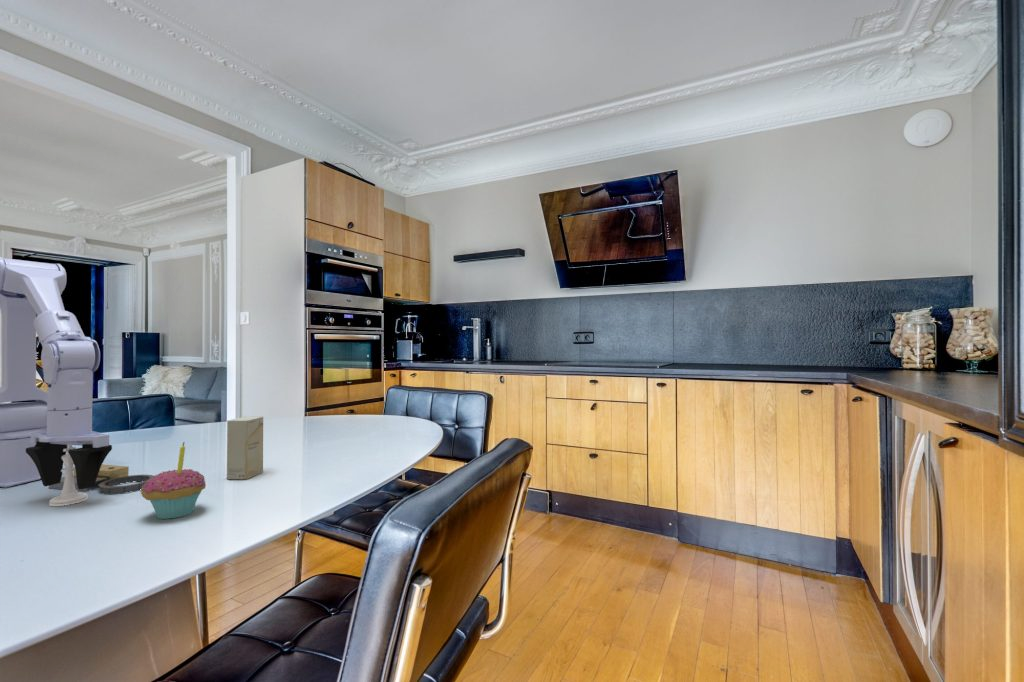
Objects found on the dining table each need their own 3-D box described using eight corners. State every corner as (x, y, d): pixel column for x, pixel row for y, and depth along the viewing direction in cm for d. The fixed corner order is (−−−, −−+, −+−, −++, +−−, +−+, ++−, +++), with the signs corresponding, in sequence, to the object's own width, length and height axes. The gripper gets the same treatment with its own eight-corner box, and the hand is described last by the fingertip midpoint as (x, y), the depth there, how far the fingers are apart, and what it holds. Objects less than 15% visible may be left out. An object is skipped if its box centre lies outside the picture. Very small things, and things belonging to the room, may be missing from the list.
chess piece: (95, 497, 82) (96, 441, 82) (66, 507, 77) (67, 448, 77) (71, 496, 82) (72, 440, 82) (40, 505, 77) (41, 447, 77)
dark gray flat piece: (46, 488, 86) (46, 480, 86) (93, 476, 94) (94, 468, 94) (123, 495, 83) (123, 486, 83) (165, 482, 91) (165, 474, 91)
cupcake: (217, 508, 77) (218, 437, 77) (165, 527, 69) (166, 448, 69) (181, 502, 80) (182, 434, 80) (127, 519, 72) (128, 443, 72)
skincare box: (246, 480, 93) (247, 420, 93) (225, 479, 93) (226, 420, 93) (264, 471, 99) (264, 415, 99) (243, 471, 99) (244, 415, 99)
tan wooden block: (73, 480, 90) (73, 467, 90) (92, 475, 94) (93, 463, 94) (110, 483, 89) (110, 470, 89) (128, 478, 92) (128, 465, 92)
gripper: (9, 410, 77) (7, 490, 77) (77, 413, 74) (76, 496, 74) (57, 404, 84) (56, 478, 84) (122, 407, 81) (120, 483, 81)
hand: (69, 486), depth 80 cm, fingers open, 7 cm apart
